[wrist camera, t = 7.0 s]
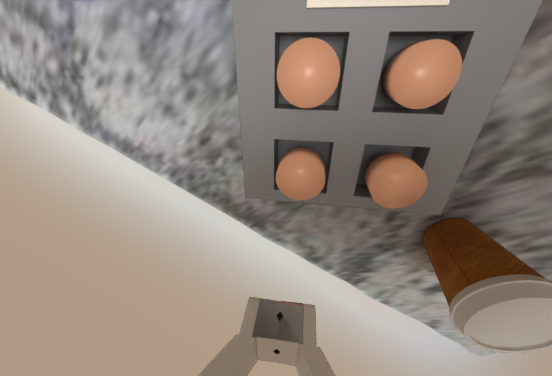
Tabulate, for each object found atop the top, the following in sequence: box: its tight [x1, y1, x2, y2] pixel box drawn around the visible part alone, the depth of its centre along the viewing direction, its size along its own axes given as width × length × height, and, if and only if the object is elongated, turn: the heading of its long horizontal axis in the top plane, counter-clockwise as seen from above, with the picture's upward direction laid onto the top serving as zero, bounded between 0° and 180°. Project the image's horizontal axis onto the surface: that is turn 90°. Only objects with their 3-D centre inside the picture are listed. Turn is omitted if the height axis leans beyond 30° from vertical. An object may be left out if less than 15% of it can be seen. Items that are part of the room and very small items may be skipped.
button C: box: [365, 153, 428, 209], centre depth 22 cm, size 5×5×4 cm
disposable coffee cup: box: [423, 218, 552, 353], centre depth 25 cm, size 10×10×12 cm
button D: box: [276, 147, 325, 200], centre depth 23 cm, size 5×5×4 cm
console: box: [232, 0, 543, 215], centre depth 21 cm, size 22×24×4 cm
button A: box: [383, 39, 462, 109], centre depth 18 cm, size 5×5×4 cm
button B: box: [277, 38, 340, 108], centre depth 18 cm, size 5×5×4 cm
